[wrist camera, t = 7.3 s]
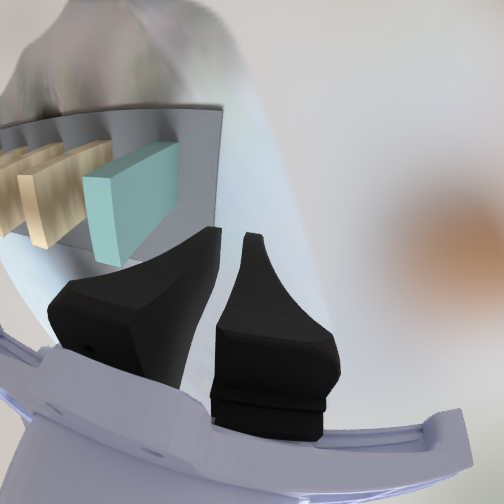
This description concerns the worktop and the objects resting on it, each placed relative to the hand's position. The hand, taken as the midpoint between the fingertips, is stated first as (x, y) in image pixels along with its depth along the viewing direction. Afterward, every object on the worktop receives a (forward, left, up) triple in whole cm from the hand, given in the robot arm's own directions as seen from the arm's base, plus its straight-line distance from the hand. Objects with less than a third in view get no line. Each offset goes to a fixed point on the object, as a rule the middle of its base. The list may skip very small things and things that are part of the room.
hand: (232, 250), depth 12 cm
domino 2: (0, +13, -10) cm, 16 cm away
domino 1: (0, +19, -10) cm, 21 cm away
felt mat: (-2, +19, -10) cm, 21 cm away
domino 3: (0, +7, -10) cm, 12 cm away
